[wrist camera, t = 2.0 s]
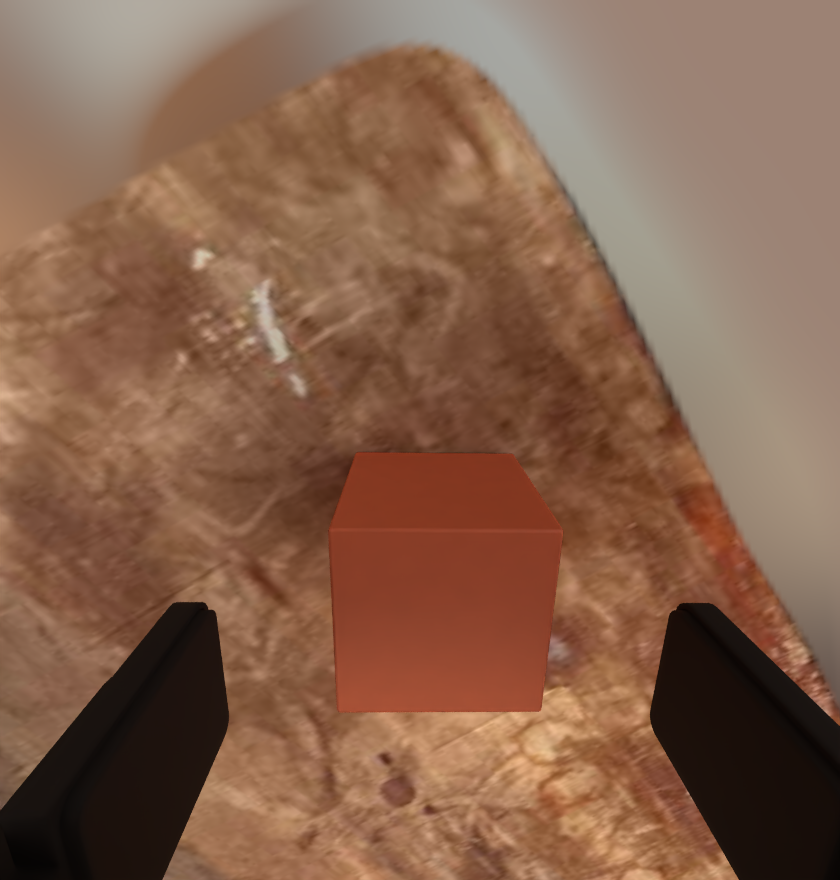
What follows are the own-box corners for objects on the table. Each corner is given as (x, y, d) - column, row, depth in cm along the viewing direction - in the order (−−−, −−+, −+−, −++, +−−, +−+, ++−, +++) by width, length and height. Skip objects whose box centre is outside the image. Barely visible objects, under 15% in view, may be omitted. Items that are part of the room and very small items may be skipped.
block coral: (355, 451, 13) (327, 529, 9) (513, 452, 13) (565, 530, 9) (359, 587, 14) (336, 713, 10) (502, 587, 15) (541, 713, 10)
